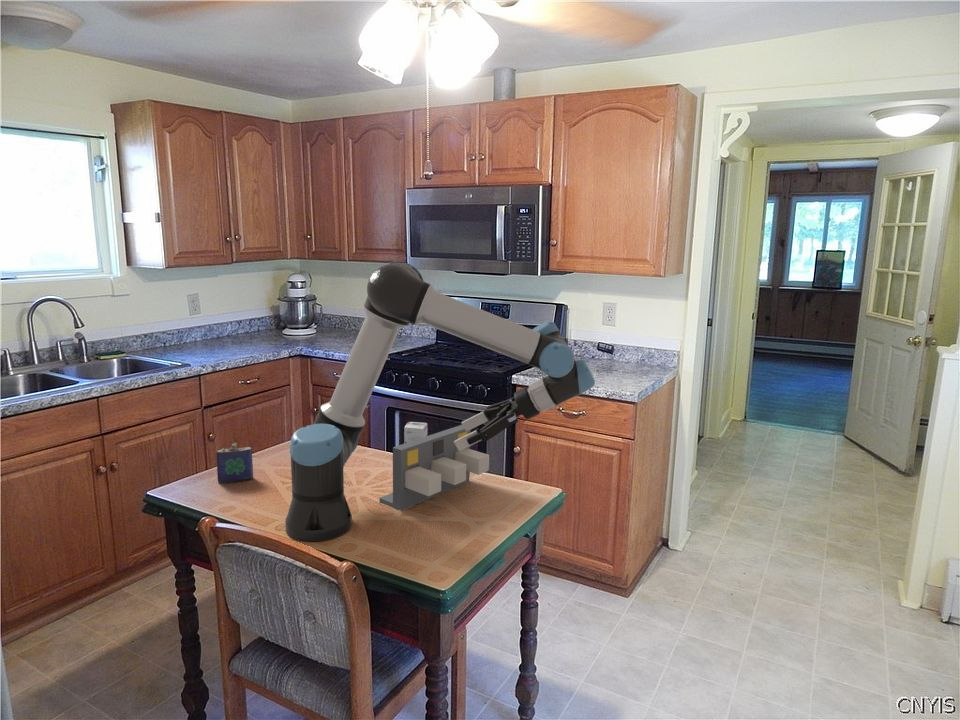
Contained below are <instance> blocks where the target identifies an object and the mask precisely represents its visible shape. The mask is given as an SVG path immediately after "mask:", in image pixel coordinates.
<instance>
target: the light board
mask: <svg viewBox="0 0 960 720" xmlns="http://www.w3.org/2000/svg"><path fill="white" fill-rule="evenodd" d="M471 431H472V429H471V430H469V431H467V432H466V430H465V428H464V427H463V425H462V424H460V425H458V426H457V425H456V426H454V427H451V428H448V429H444V430H441V431H439V432H436V433H432V434H429V435H427V436H426V437H423V438H420V439H417V440H414V441H411V442H408V443H405V444H404V443H403V444H402V443H401V444H398V445H396V446H393V447H392V492H391V493H388V494H385V495H383V496H380V497H378V498H379V503H381V504H383V505H385V504H386V505H385V506H387V505H388V506H387V507H390V508H393V509H395V510H397V511H400V512H403V511H406V510H408V509H409V508H412V507H414V506H416V504H417V505H419V504H421V503H424V502H426V501H428V500H430V499H433V498H435V497H437V496H439V495H442V494H444V493H446V492H448V491H451V490H453V489H456V488H458V487H460V486H463V485H464V484H467V483H470V478H471V477H470V475H471V474H470V473H471V472H468V471H466V481H463V482H461V483H459V484H456V485H453V484H450V483H447V482H444V481H442V480H441V491H440V492H438V493H435V494H433V495H431V496H426V495H424V494H421V493H418V492H416V491H413V490H410V489H408V488H405V487H404V470H405V469H408V468H411V467H413V466H419V467H422V468H425V469H427V470H430V471H431V460H432V459H435V458H438V457H440V456H442V457H446V458H449V459H452V460H455V451H457V450H458V448H457V447H456V445H455V443H454V441H455V440H457V439H459V438H461V437H463V436H465V435H467V434H469V433H471ZM467 448H468V449H471V446H469V447H467ZM432 497H433V498H432ZM425 500H426V501H425ZM418 503H419V504H418Z"/></svg>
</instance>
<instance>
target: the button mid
mask: <svg viewBox="0 0 960 720" xmlns="http://www.w3.org/2000/svg"><path fill="white" fill-rule="evenodd" d="M431 471H433V472H436V473H439V474H441V480H442V481H444V482H447V483H450V484H453V485H456V484H459V483H461V482H463V481H466V464H464V463H461V462H458V461H455V460H452V459H449V458H446V457H442V456H440V457H438V458H435V459H432V460H431Z"/></svg>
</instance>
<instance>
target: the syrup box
mask: <svg viewBox="0 0 960 720" xmlns="http://www.w3.org/2000/svg"><path fill="white" fill-rule="evenodd" d="M403 429H404V432H403V435H404V436H403V438H404V442H403V444H405V443H408V442H411V441H414V440H417V439H420V438H423V437H426V436H428V423H427V422H419V421H418V422H417V421H408V422H407V423H406V424H405V425H404V428H403Z"/></svg>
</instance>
